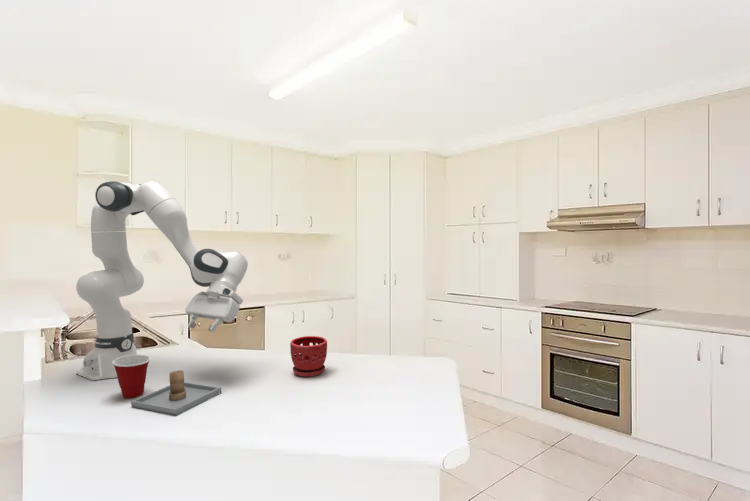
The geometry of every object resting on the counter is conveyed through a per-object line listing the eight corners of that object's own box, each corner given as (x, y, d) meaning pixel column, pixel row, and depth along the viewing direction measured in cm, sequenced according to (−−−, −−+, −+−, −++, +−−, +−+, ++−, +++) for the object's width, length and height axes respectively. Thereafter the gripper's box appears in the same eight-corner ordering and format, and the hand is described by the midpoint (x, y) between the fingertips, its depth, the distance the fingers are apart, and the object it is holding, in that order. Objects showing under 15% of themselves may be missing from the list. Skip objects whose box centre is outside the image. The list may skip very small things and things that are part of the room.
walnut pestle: (165, 399, 133) (164, 374, 132) (178, 394, 137) (177, 369, 137) (177, 401, 131) (176, 375, 131) (189, 396, 135) (188, 370, 135)
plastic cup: (136, 403, 133) (133, 364, 132) (105, 401, 135) (103, 363, 134) (160, 389, 143) (158, 354, 143) (132, 388, 145) (130, 353, 145)
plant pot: (284, 377, 152) (283, 343, 151) (302, 365, 164) (301, 334, 164) (318, 380, 148) (316, 346, 147) (333, 368, 160) (332, 336, 160)
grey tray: (131, 407, 129) (131, 401, 129) (179, 386, 146) (179, 381, 146) (175, 416, 122) (175, 409, 122) (221, 392, 139) (221, 387, 139)
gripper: (193, 286, 154) (172, 321, 147) (236, 291, 145) (217, 328, 138) (204, 295, 159) (184, 329, 152) (247, 301, 150) (228, 337, 143)
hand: (200, 329), depth 145 cm, fingers open, 8 cm apart
